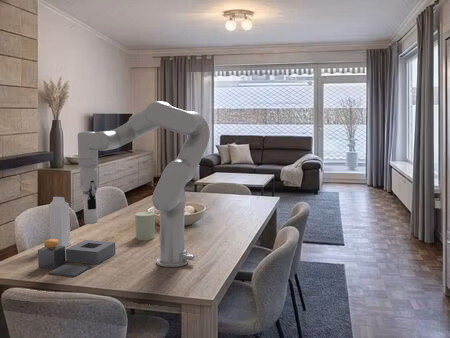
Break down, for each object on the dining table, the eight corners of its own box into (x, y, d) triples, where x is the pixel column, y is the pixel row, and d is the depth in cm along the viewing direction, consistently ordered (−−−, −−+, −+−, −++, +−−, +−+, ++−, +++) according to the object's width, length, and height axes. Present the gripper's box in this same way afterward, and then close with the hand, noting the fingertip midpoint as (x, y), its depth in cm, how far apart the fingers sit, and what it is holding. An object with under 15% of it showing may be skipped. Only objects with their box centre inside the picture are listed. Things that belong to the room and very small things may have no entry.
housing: (115, 253, 191) (115, 242, 190) (97, 264, 177) (97, 251, 177) (85, 251, 194) (85, 239, 194) (66, 261, 181) (65, 249, 180)
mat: (91, 267, 174) (91, 265, 174) (75, 277, 163) (75, 275, 163) (66, 264, 177) (66, 263, 177) (48, 274, 166) (48, 272, 166)
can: (159, 237, 217) (158, 212, 216) (145, 241, 210) (144, 215, 208) (145, 234, 223) (145, 209, 221) (131, 238, 215) (130, 213, 214)
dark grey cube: (65, 263, 178) (65, 246, 177) (54, 269, 171) (53, 251, 170) (50, 262, 180) (49, 244, 179) (38, 267, 173) (37, 249, 172)
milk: (59, 243, 206) (57, 195, 203) (70, 245, 204) (69, 196, 201) (50, 247, 200) (48, 197, 197) (61, 248, 198) (60, 198, 196)
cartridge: (95, 220, 187) (94, 187, 186) (98, 223, 183) (97, 188, 181) (83, 222, 185) (81, 188, 183) (86, 224, 180) (84, 189, 179)
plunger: (61, 260, 177) (60, 239, 176) (53, 264, 172) (52, 242, 171) (50, 259, 178) (49, 238, 177) (42, 263, 174) (41, 241, 173)
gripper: (74, 161, 187) (76, 205, 189) (83, 165, 172) (85, 212, 174) (92, 160, 190) (94, 203, 192) (103, 164, 176) (105, 210, 178)
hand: (90, 207), depth 183 cm, fingers closed on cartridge, 5 cm apart
